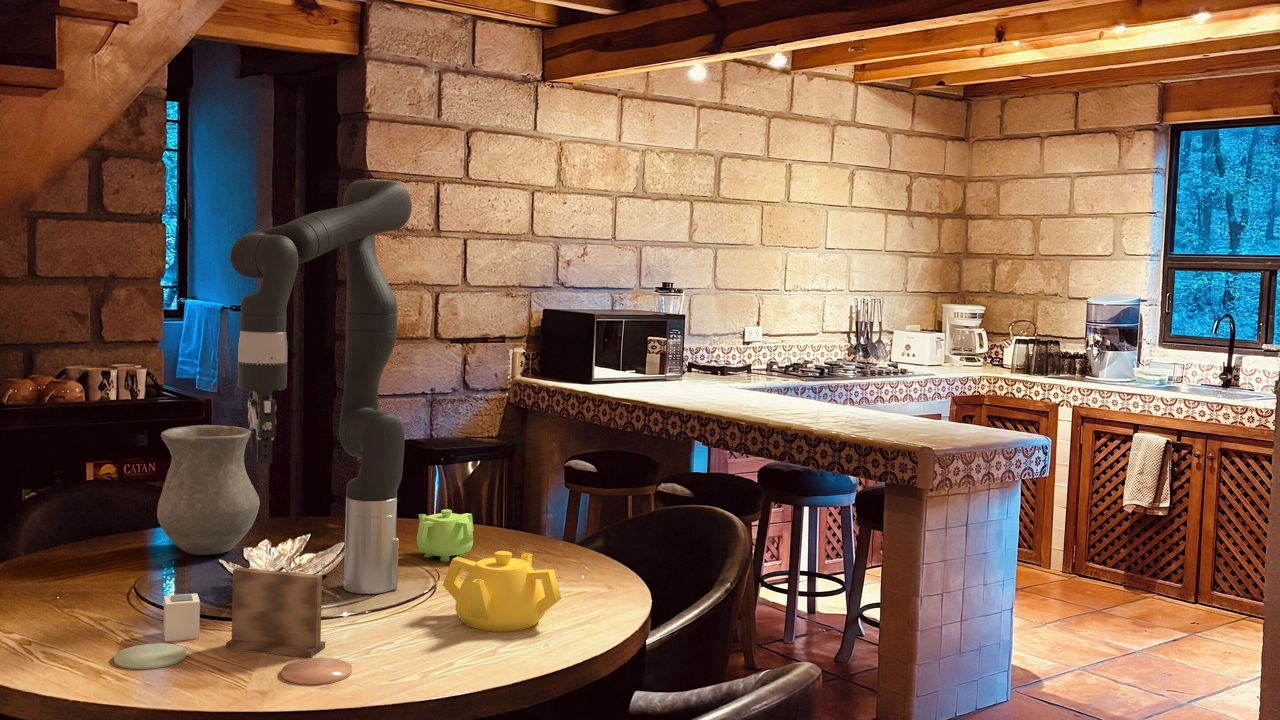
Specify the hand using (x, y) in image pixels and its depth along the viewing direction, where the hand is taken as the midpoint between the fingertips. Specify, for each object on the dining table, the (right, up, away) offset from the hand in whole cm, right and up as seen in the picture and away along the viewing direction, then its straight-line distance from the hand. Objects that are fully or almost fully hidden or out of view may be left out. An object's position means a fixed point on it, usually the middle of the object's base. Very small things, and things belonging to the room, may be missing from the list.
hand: (261, 459), depth 190 cm
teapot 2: (+37, -29, +13) cm, 49 cm away
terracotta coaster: (+14, -30, -17) cm, 37 cm away
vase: (-27, -23, +51) cm, 62 cm away
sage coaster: (-12, -29, -13) cm, 34 cm away
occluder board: (+4, -29, -7) cm, 30 cm away
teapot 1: (+20, -25, +56) cm, 65 cm away
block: (-12, -28, -2) cm, 30 cm away
